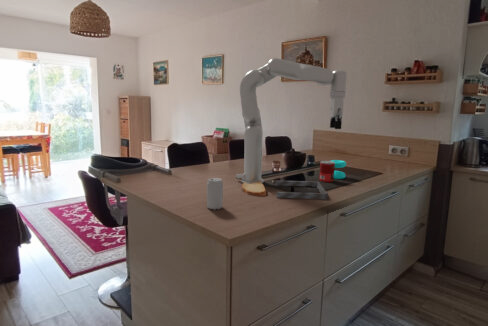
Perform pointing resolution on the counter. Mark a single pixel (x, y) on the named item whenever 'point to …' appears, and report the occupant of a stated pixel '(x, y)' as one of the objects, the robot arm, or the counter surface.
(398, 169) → the counter surface
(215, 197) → the beverage can
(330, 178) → the canned food
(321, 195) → the corral
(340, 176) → the donuts
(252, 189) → the bread slice
